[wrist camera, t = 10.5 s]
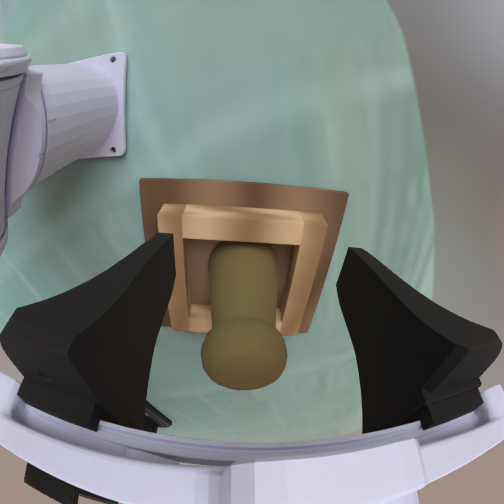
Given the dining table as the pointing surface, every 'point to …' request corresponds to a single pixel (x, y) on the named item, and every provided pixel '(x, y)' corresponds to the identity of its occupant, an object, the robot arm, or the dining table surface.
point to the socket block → (244, 240)
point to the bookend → (70, 493)
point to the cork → (243, 317)
